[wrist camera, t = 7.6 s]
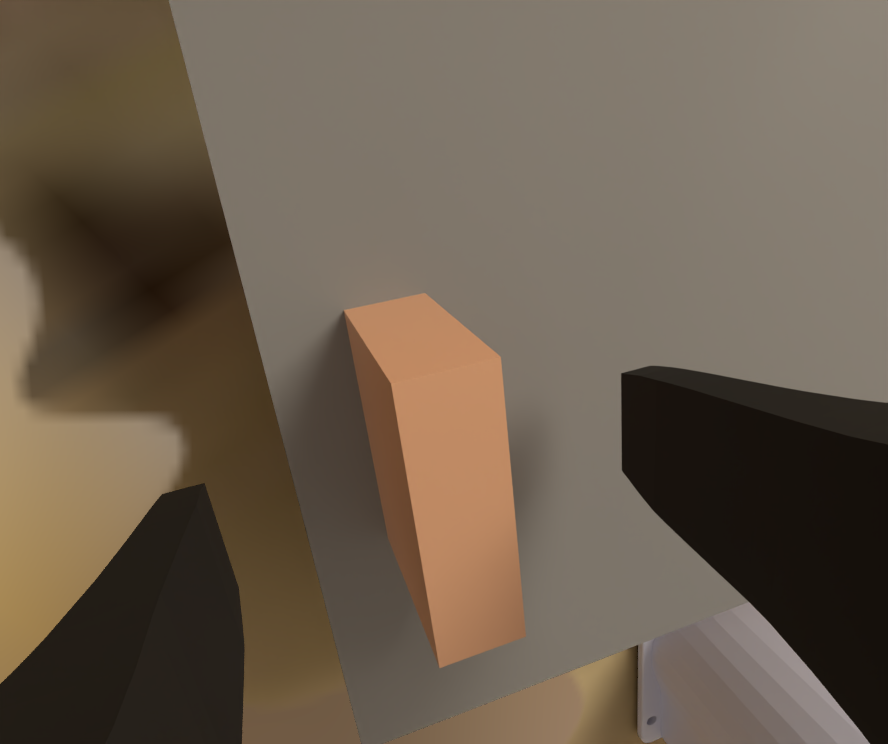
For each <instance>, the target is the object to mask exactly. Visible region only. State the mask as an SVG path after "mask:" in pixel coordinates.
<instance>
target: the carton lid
mask: <svg viewBox="0 0 888 744" xmlns="http://www.w3.org/2000/svg"><path fill="white" fill-rule="evenodd" d="M169 4H170V7H171V11H172V15H173V19H174V23H175V27H176V31H177V34H178V38H179V42H180V46H181V50H182V54H183V58H184V61H185V65H186V69H187V73H188V77H189V81H190V85H191V88H192V92H193V96H194V100H195V104H196V108H197V112H198V115H199V119H200V123H201V127H202V131H203V135H204V139H205V142H206V146H207V150H208V154H209V158H210V162H211V166H212V170H213V173H214V177H215V181H216V185H217V189H218V193H219V197H220V200H221V204H222V208H223V212H224V216H225V220H226V224H227V227H228V231H229V235H230V239H231V243H232V247H233V251H234V254H235V258H236V262H237V266H238V270H239V274H240V278H241V281H242V285H243V289H244V293H245V297H246V301H247V305H248V309H249V312H250V316H251V320H252V324H253V328H254V332H255V336H256V339H257V343H258V347H259V351H260V355H261V359H262V363H263V366H264V370H265V374H266V378H267V382H268V386H269V390H270V393H271V397H272V401H273V405H274V409H275V413H276V417H277V420H278V424H279V428H280V432H281V436H282V440H283V444H284V447H285V451H286V455H287V459H288V463H289V467H290V471H291V475H292V478H293V482H294V486H295V490H296V494H297V498H298V502H299V505H300V509H301V513H302V517H303V521H304V525H305V529H306V532H307V536H308V540H309V544H310V548H311V552H312V556H313V559H314V563H315V567H316V571H317V575H318V579H319V583H320V586H321V590H322V594H323V598H324V602H325V606H326V610H327V613H328V617H329V621H330V625H331V629H332V633H333V637H334V641H335V644H336V648H337V652H338V656H339V660H340V664H341V668H342V671H343V675H344V679H345V683H346V687H347V691H348V694H349V698H350V702H351V706H352V710H353V714H354V718H355V722H356V725H357V729H358V733H359V737H360V741H361V744H384V743H386V742H389V741H391V740H394V739H396V738H399V737H402V736H404V735H407V734H409V733H412V732H415V731H417V730H420V729H422V728H425V727H428V726H429V725H433V724H435V723H438V722H440V721H443V720H446V719H448V718H451V717H453V716H456V715H459V714H461V713H464V712H466V711H469V710H471V709H474V708H476V707H479V706H482V705H484V704H487V703H489V702H492V701H495V700H497V699H500V698H502V697H505V696H508V695H510V694H513V693H515V692H518V691H520V690H523V689H526V688H528V687H530V686H533V685H536V684H538V683H541V682H544V681H546V680H548V679H551V678H554V677H557V676H559V675H562V674H564V673H567V672H569V671H572V670H575V669H577V668H580V667H582V666H585V665H587V664H590V663H593V662H595V661H598V660H600V659H603V658H605V657H608V656H611V655H613V654H616V653H618V652H621V651H624V650H626V649H629V648H631V647H634V646H636V645H639V644H642V643H644V642H647V641H649V640H652V639H654V638H657V637H660V636H662V635H665V634H667V633H670V632H673V631H675V630H678V629H680V628H683V627H685V626H688V625H691V624H693V623H696V622H698V621H701V620H703V619H706V618H709V617H711V616H714V615H716V614H719V613H722V612H724V611H727V610H729V609H732V608H734V607H737V606H740V605H742V604H745V603H747V602H748V601H747V600H746V599H745V598H744V597H743V596H742V595H741V594H740V593H739V592H738V591H737V590H736V589H735V588H734V587H733V586H731V585H730V584H729V583H728V582H727V581H726V580H725V579H724V578H723V577H722V576H721V575H720V574H719V573H718V572H717V571H715V570H714V569H713V568H712V567H711V566H710V565H709V564H708V563H707V562H706V561H705V560H704V559H703V558H702V557H701V556H700V555H698V554H697V553H696V552H695V551H694V550H693V549H692V548H691V547H690V546H689V545H688V544H687V543H686V542H685V541H684V540H683V539H682V538H680V537H679V536H678V535H677V534H676V533H675V532H674V531H673V530H672V529H671V528H670V527H669V526H668V525H667V524H666V523H665V522H664V521H663V520H662V519H661V518H660V517H659V516H658V515H657V514H656V513H655V512H654V511H653V510H652V509H651V507H650V506H649V505H648V504H647V503H646V501H645V500H644V499H643V498H642V496H641V495H640V494H639V493H638V491H637V490H636V489H635V487H634V486H633V485H632V483H631V482H630V481H629V479H628V478H627V477H626V475H625V474H624V473H623V471H622V431H621V373H624V372H628V371H632V370H636V369H639V368H643V367H647V366H666V367H674V368H681V369H688V370H694V371H699V372H705V373H710V374H716V375H721V376H726V377H731V378H736V379H742V380H747V381H752V382H757V383H762V384H768V385H773V386H778V387H784V388H789V389H795V390H801V391H806V392H813V393H819V394H826V395H832V396H839V397H845V398H852V399H859V400H867V401H875V402H885V403H888V0H169Z"/></svg>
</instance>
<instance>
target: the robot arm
mask: <svg viewBox="0 0 888 744" xmlns="http://www.w3.org/2000/svg"><path fill="white" fill-rule="evenodd" d="M621 431H622V471H623V473H624V474H625V475H626V477H627V478H628V479H629V481H630V482H631V483H632V485H633V486H634V487H635V489H636V490H637V491H638V493H639V494H640V495H641V496H642V498H643V499H644V500H645V501H646V503H647V504H648V505H649V506H650V507H651V509H652V510H653V511H654V512H655V513H656V514H657V515H658V516H659V517H660V518H661V519H662V520H663V521H664V522H665V523H666V524H667V525H668V526H669V527H670V528H671V529H672V530H673V531H674V532H675V533H676V534H677V535H678V536H679V537H680V538H682V539H683V540H684V541H685V542H686V543H687V544H688V545H689V546H690V547H691V548H692V549H693V550H694V551H695V552H696V553H697V554H698V555H700V556H701V557H702V558H703V559H704V560H705V561H706V562H707V563H708V564H709V565H710V566H711V567H712V568H713V569H714V570H715V571H717V572H718V573H719V574H720V575H721V576H722V577H723V578H724V579H725V580H726V581H727V582H728V583H729V584H730V585H731V586H733V587H734V588H735V589H736V590H737V591H738V592H739V593H740V594H741V595H742V596H743V597H744V598H745V599H746V600H747V601H748V602H747V603H745V604H742V605H740V606H737V607H734V608H732V609H729V610H727V611H724V612H722V613H719V614H716V615H714V616H711V617H709V618H706V619H703V620H701V621H698V622H696V623H693V624H691V625H688V626H685V627H683V628H680V629H678V630H675V631H673V632H670V633H667V634H665V635H662V636H660V637H657V638H654V639H652V640H649V641H647V642H644V643H642V644H639V645H638V730H637V733H638V736H639V737H640V739H641V740H642V742H644V743H650V742H653V741H655V740H657V739H660V738H663V739H664V741H665V742H666V743H667V744H888V403H885V402H875V401H867V400H859V399H852V398H845V397H839V396H832V395H826V394H819V393H813V392H806V391H801V390H795V389H789V388H784V387H778V386H773V385H768V384H762V383H757V382H752V381H747V380H742V379H736V378H731V377H726V376H721V375H716V374H710V373H705V372H699V371H694V370H688V369H681V368H674V367H666V366H647V367H643V368H639V369H636V370H632V371H628V372H624V373H621ZM243 686H244V636H243V625H242V615H241V606H240V596H239V588H238V585H237V581H236V578H235V575H234V572H233V569H232V566H231V563H230V560H229V557H228V554H227V551H226V548H225V545H224V542H223V539H222V536H221V533H220V530H219V527H218V523H217V520H216V517H215V514H214V511H213V508H212V505H211V502H210V499H209V496H208V493H207V490H206V487H205V484H204V483H203V484H199V485H195V486H192V487H188V488H184V489H180V490H176V491H173V492H169V493H165V494H162V495H161V496H160V497H159V499H158V500H157V501H156V502H155V504H154V505H153V506H152V507H151V509H150V510H149V511H148V513H147V514H146V515H145V517H144V518H143V519H142V521H141V522H140V523H139V525H138V526H137V527H136V529H135V530H134V531H133V533H132V534H131V535H130V537H129V538H128V539H127V541H126V542H125V543H124V544H123V546H122V547H121V548H120V550H119V551H118V552H117V554H116V555H115V556H114V557H113V559H112V560H111V561H110V562H109V564H108V565H107V566H106V567H105V569H104V570H103V571H102V573H101V574H100V575H99V576H98V578H97V579H96V580H95V582H94V583H93V584H92V585H91V586H90V587H89V588H88V589H87V591H86V592H85V593H84V594H83V595H82V596H81V598H80V599H79V600H78V601H77V602H76V603H75V604H74V606H73V607H72V608H71V609H70V610H69V611H68V613H67V614H66V615H65V616H64V617H63V618H62V619H61V621H60V622H59V623H58V624H57V625H56V626H55V628H54V629H53V630H52V631H51V632H50V633H49V635H48V636H47V637H46V638H45V639H44V640H43V641H42V642H41V643H40V644H39V646H38V647H36V648H35V650H34V651H33V652H32V653H31V654H30V655H29V656H28V657H27V658H26V659H25V660H24V661H23V662H22V663H21V664H20V665H19V666H18V667H17V668H16V669H15V670H14V671H13V672H12V673H11V674H10V675H9V676H8V677H7V678H6V679H5V680H4V681H3V682H2V683H1V684H0V744H242V719H243V718H242V717H243Z"/></svg>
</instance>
